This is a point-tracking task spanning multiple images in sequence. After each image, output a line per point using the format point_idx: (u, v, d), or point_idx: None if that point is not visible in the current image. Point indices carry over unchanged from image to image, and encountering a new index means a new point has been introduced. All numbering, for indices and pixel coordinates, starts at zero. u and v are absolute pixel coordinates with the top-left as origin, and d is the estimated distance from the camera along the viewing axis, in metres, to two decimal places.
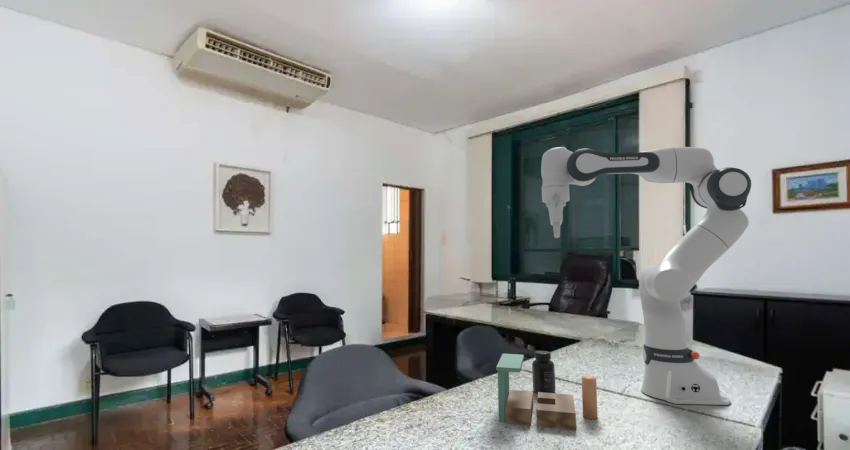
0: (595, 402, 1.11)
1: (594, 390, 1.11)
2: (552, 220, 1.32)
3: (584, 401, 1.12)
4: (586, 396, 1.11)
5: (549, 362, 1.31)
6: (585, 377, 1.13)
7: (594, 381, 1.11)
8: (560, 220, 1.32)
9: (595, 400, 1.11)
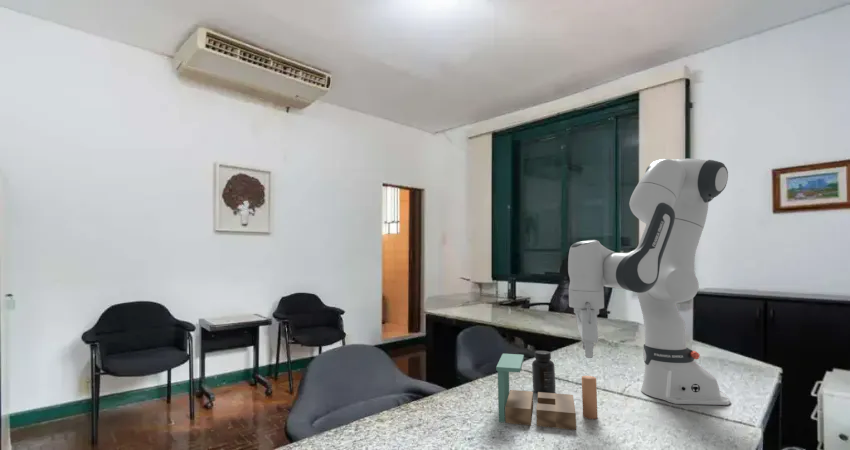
0: (595, 402, 1.11)
1: (594, 390, 1.11)
2: (584, 340, 1.04)
3: (584, 401, 1.12)
4: (586, 396, 1.11)
5: (549, 362, 1.31)
6: (585, 377, 1.13)
7: (594, 381, 1.11)
8: (595, 341, 1.04)
9: (595, 400, 1.11)
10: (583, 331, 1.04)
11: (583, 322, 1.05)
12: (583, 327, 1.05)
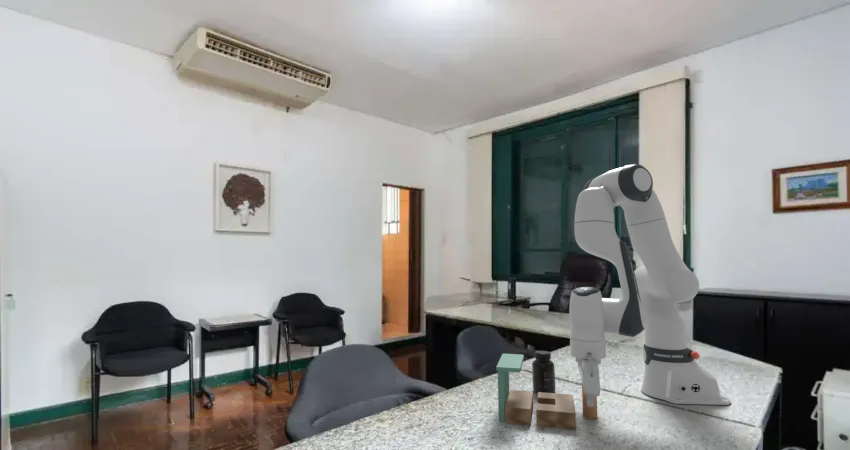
0: (595, 402, 1.11)
1: None
2: (586, 393, 1.04)
3: (584, 401, 1.12)
4: None
5: (549, 362, 1.31)
6: None
7: None
8: (597, 395, 1.03)
9: (595, 400, 1.11)
10: (585, 384, 1.04)
11: (585, 375, 1.04)
12: (585, 380, 1.04)
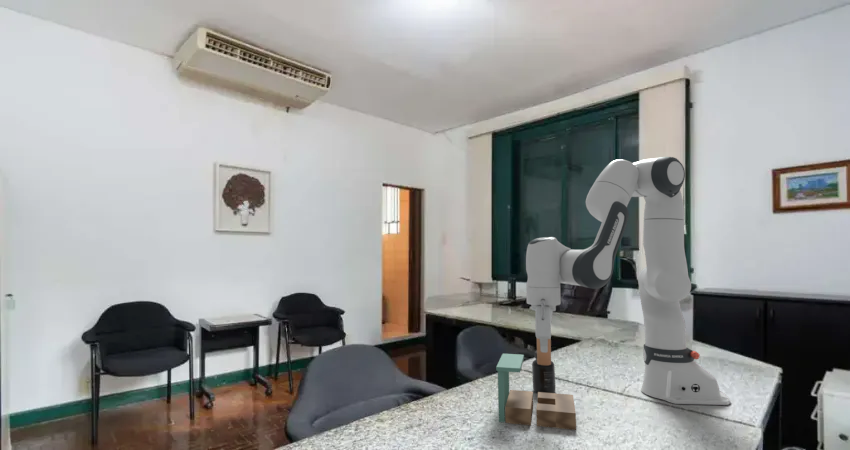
0: (548, 349, 1.12)
1: None
2: (537, 336, 1.05)
3: (538, 348, 1.13)
4: None
5: None
6: None
7: None
8: (547, 337, 1.04)
9: (549, 347, 1.12)
10: (536, 327, 1.05)
11: (536, 318, 1.05)
12: (536, 323, 1.05)
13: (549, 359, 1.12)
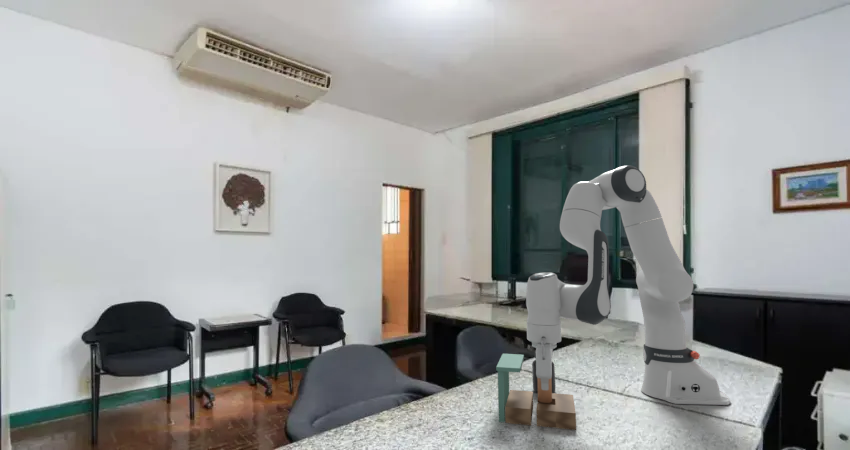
0: (549, 386, 1.11)
1: None
2: (538, 376, 1.04)
3: (539, 385, 1.12)
4: None
5: None
6: None
7: None
8: (548, 377, 1.04)
9: (549, 384, 1.11)
10: (537, 367, 1.04)
11: (537, 358, 1.05)
12: (537, 363, 1.04)
13: (550, 396, 1.11)
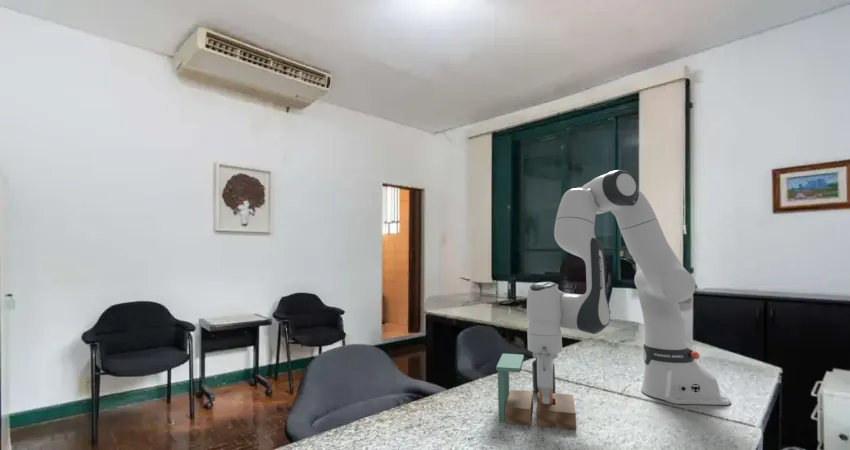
0: (551, 402, 1.11)
1: (550, 390, 1.11)
2: (539, 387, 1.04)
3: (540, 401, 1.12)
4: None
5: None
6: None
7: None
8: (549, 388, 1.03)
9: (551, 400, 1.11)
10: (538, 378, 1.04)
11: (538, 369, 1.04)
12: (538, 374, 1.04)
13: None
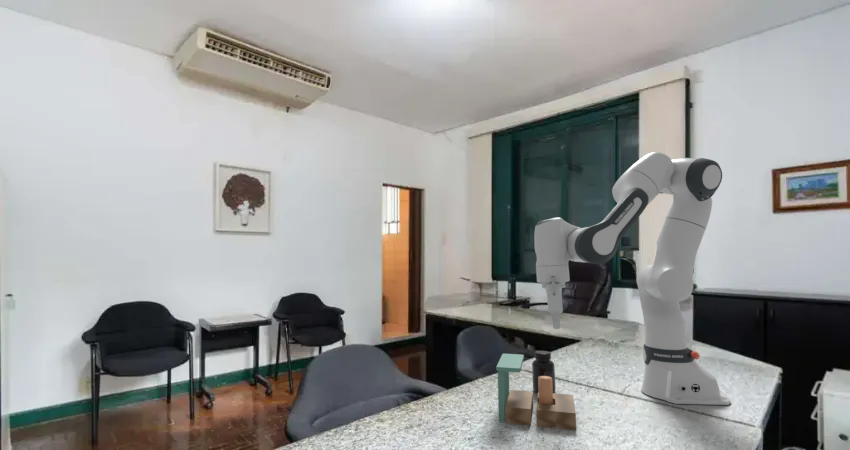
0: (551, 402, 1.11)
1: (550, 390, 1.11)
2: (550, 311, 1.10)
3: (540, 401, 1.12)
4: (542, 396, 1.11)
5: (549, 362, 1.31)
6: (541, 377, 1.13)
7: (550, 381, 1.11)
8: (560, 311, 1.09)
9: (551, 400, 1.11)
10: (548, 303, 1.10)
11: (548, 294, 1.10)
12: (548, 299, 1.10)
13: None
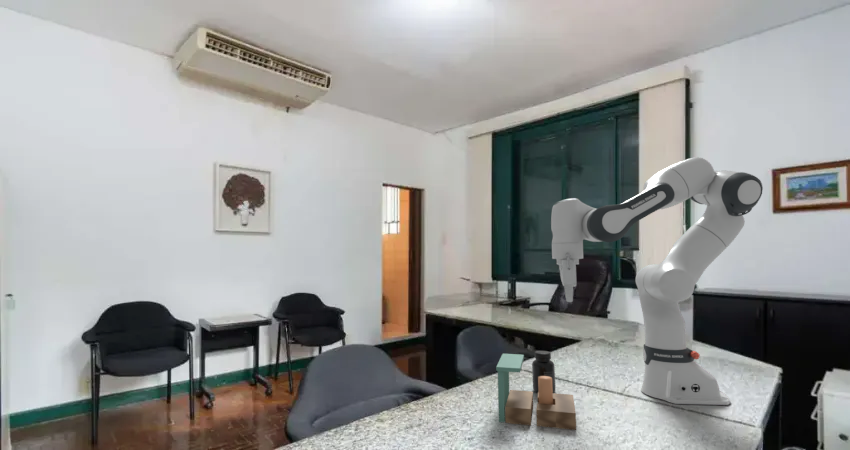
0: (551, 402, 1.11)
1: (550, 390, 1.11)
2: (564, 284, 1.17)
3: (540, 401, 1.12)
4: (542, 396, 1.11)
5: (549, 362, 1.31)
6: (541, 377, 1.13)
7: (550, 381, 1.11)
8: (573, 285, 1.16)
9: (551, 400, 1.11)
10: (563, 276, 1.17)
11: (563, 268, 1.17)
12: (563, 273, 1.17)
13: None
